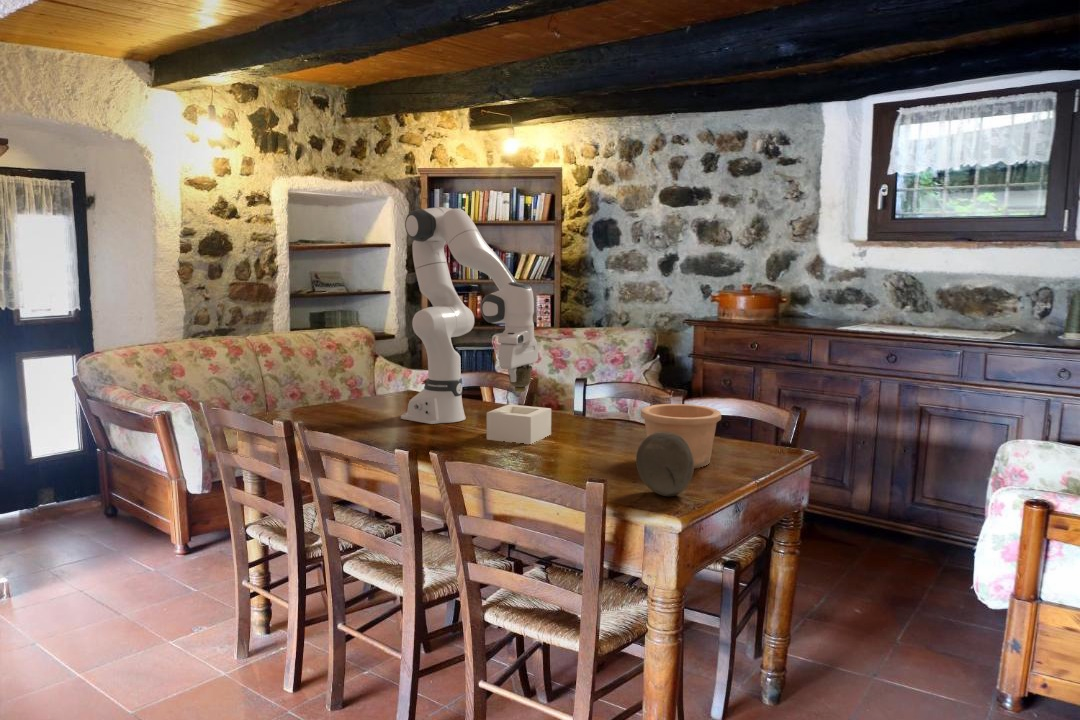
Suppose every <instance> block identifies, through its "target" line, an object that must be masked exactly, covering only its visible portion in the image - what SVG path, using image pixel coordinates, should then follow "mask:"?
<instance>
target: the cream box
mask: <svg viewBox="0 0 1080 720" xmlns="http://www.w3.org/2000/svg"><path fill="white" fill-rule="evenodd" d="M549 435H550V436H551V435H552V408H551V407H550V408H549V407H540V406H530V405H520V404H505V405H503V406H500V407H498V408H495V409H493V410H490V411H487V412H486V440H488V441H496V442H503V441H505V443H512V442H516V443H515V444H520V443H524V444H523V445H529V444H531V445H533V444H535V443H537V442H540V441H541V440H543V439H545V437H546V438H548V437H549ZM547 436H548V437H547ZM536 441H537V442H536ZM534 442H535V443H534ZM532 443H533V444H532Z"/></svg>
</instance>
